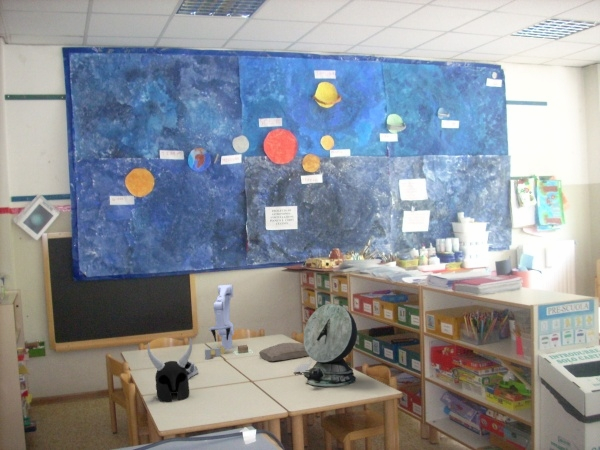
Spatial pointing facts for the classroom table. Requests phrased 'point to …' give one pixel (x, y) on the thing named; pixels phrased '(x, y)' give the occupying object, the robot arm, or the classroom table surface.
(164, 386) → the helmet
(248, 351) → the build plate
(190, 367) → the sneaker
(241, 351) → the base block
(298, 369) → the figurine
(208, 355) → the tile
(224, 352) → the brick
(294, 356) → the stone tablet
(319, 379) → the sundial
